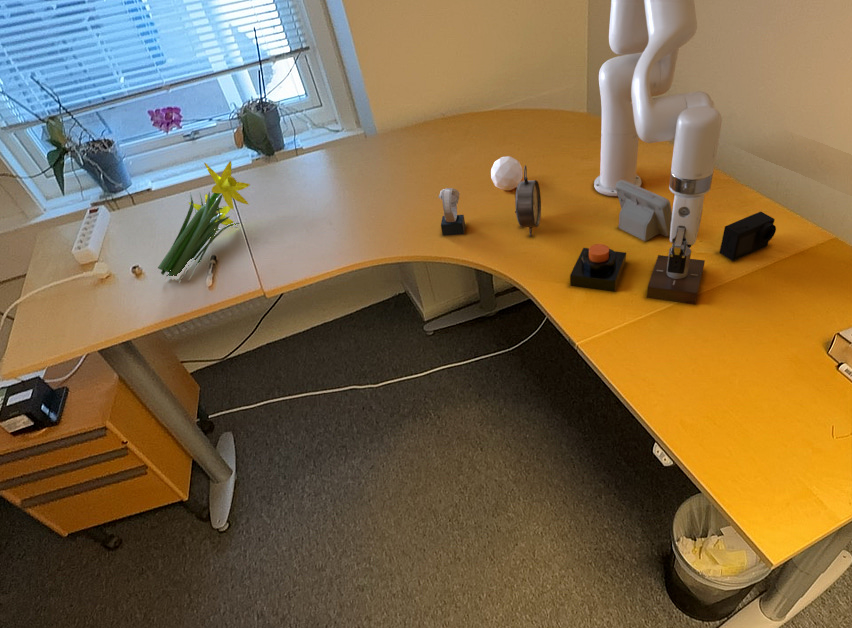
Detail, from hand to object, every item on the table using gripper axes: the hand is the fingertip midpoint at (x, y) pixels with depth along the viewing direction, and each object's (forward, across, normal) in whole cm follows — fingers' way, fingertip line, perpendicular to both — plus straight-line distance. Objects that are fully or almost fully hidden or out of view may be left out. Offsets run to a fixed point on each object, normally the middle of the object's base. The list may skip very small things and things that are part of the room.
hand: (679, 259), depth 120 cm
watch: (+6, +11, +58) cm, 60 cm away
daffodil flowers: (+6, -11, +119) cm, 120 cm away
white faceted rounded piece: (+6, +36, +52) cm, 64 cm away
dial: (+4, 0, 0) cm, 4 cm away
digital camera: (+7, +16, -13) cm, 22 cm away
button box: (+7, 0, +17) cm, 18 cm away
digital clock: (+7, +21, +11) cm, 25 cm away
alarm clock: (+6, +16, +39) cm, 43 cm away
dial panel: (+7, 0, 0) cm, 7 cm away
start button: (+2, 0, +17) cm, 17 cm away
